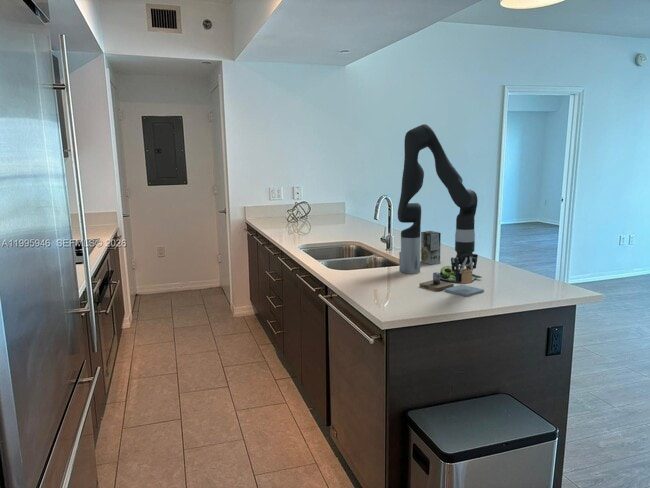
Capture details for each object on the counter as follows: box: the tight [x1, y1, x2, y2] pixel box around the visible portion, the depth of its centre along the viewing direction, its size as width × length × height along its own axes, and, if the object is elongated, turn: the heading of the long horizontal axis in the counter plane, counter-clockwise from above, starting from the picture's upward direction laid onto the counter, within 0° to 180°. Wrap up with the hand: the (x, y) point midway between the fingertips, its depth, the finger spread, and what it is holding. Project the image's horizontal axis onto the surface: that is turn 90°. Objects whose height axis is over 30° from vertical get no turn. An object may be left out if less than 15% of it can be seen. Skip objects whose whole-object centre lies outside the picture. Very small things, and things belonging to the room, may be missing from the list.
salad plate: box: [439, 265, 483, 284], centre depth 215 cm, size 19×18×5 cm
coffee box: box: [420, 230, 441, 265], centre depth 248 cm, size 9×6×16 cm
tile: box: [444, 283, 485, 298], centre depth 193 cm, size 11×11×1 cm
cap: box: [459, 267, 473, 284], centre depth 192 cm, size 6×6×5 cm
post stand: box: [419, 272, 455, 292], centre depth 201 cm, size 10×10×6 cm
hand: (463, 280), depth 192 cm, fingers closed on cap, 5 cm apart
